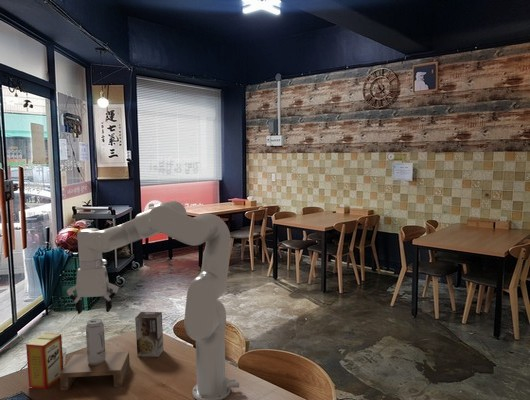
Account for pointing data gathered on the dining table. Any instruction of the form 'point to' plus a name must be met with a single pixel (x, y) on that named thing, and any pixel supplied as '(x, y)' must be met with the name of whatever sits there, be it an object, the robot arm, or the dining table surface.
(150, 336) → the coffee box
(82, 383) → the dining table surface
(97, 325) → the energy drink can
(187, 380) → the dining table surface
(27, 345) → the baking soda box
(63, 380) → the walnut stand
